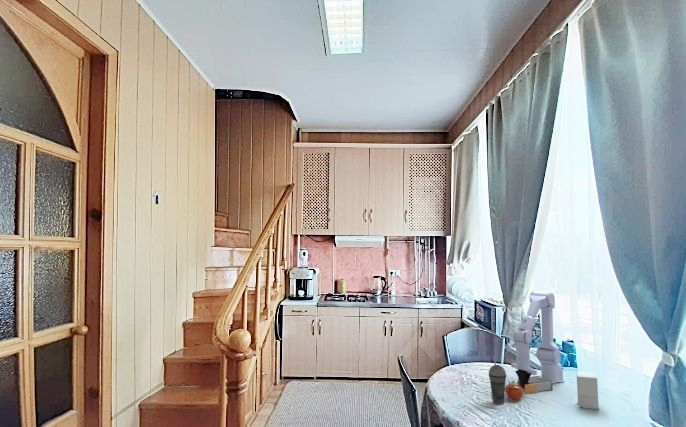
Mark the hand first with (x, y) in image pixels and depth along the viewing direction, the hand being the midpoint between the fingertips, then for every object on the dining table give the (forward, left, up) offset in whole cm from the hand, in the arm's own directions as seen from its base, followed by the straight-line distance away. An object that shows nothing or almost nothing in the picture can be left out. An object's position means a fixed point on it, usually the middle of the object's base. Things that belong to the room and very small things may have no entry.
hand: (524, 387), depth 206 cm
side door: (-6, +3, -2) cm, 7 cm away
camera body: (-8, -2, -2) cm, 9 cm away
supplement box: (-12, +24, -2) cm, 27 cm away
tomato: (+11, +7, -2) cm, 13 cm away
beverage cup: (+20, +8, -2) cm, 22 cm away
